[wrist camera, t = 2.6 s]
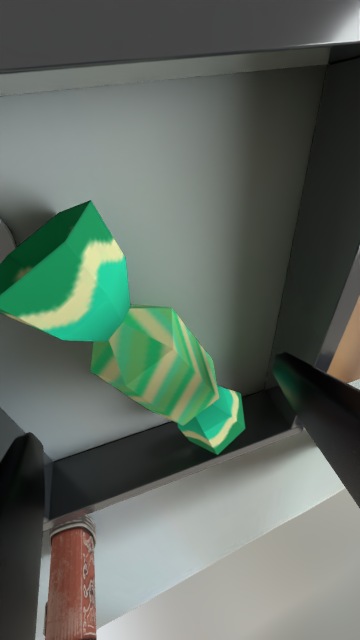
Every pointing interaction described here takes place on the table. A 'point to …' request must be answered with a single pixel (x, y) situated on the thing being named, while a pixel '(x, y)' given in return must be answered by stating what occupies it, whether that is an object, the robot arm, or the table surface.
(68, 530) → the lighter
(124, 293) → the candy
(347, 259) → the dark grey tray
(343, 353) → the brown wooden board
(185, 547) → the table surface
